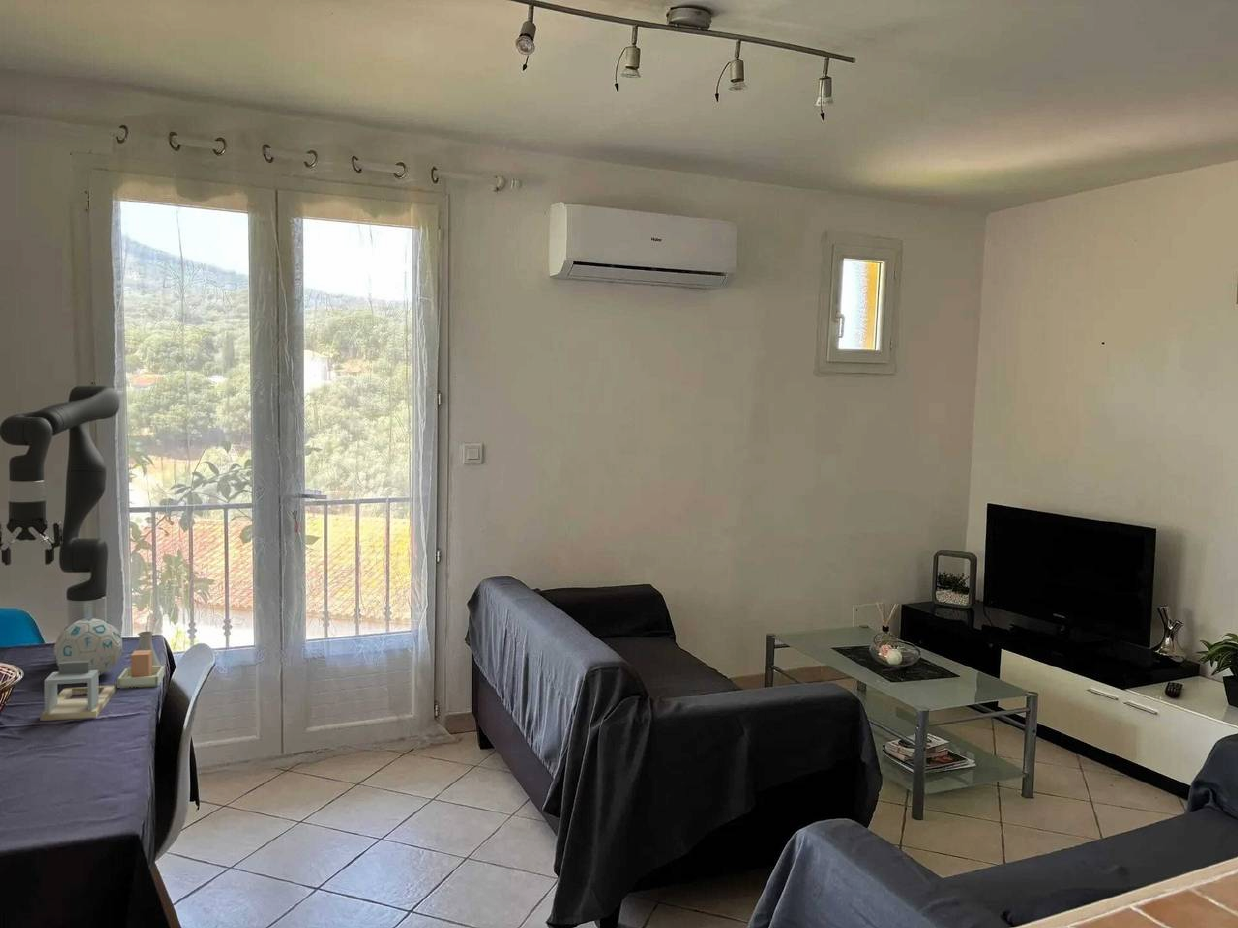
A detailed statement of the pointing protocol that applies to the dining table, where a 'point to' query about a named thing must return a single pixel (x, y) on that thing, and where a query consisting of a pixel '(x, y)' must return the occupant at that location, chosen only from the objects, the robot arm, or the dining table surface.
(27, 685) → the dining table surface
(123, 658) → the dining table surface
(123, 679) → the pale sage tray
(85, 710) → the puzzle board
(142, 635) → the flask
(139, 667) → the terracotta block
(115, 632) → the puzzle ball
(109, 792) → the dining table surface
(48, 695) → the sliding cover
